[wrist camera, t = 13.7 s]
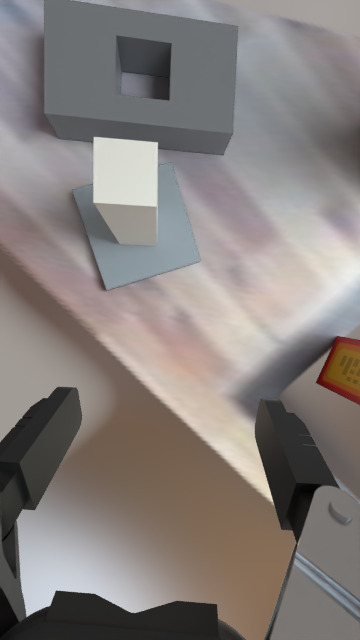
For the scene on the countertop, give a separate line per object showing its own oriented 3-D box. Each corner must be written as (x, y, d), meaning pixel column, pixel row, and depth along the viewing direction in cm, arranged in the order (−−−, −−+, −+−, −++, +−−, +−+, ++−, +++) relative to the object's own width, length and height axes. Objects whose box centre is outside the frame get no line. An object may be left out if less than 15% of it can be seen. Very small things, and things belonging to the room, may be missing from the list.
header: (227, 61, 27) (238, 26, 23) (223, 155, 28) (232, 133, 24) (59, 38, 25) (44, -4, 22) (59, 138, 26) (44, 113, 22)
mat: (170, 167, 27) (171, 162, 26) (199, 262, 28) (201, 260, 27) (75, 194, 26) (71, 189, 25) (108, 290, 27) (106, 290, 26)
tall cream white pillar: (157, 209, 26) (157, 142, 15) (156, 246, 27) (156, 206, 16) (120, 206, 26) (93, 136, 15) (120, 244, 26) (93, 202, 15)
